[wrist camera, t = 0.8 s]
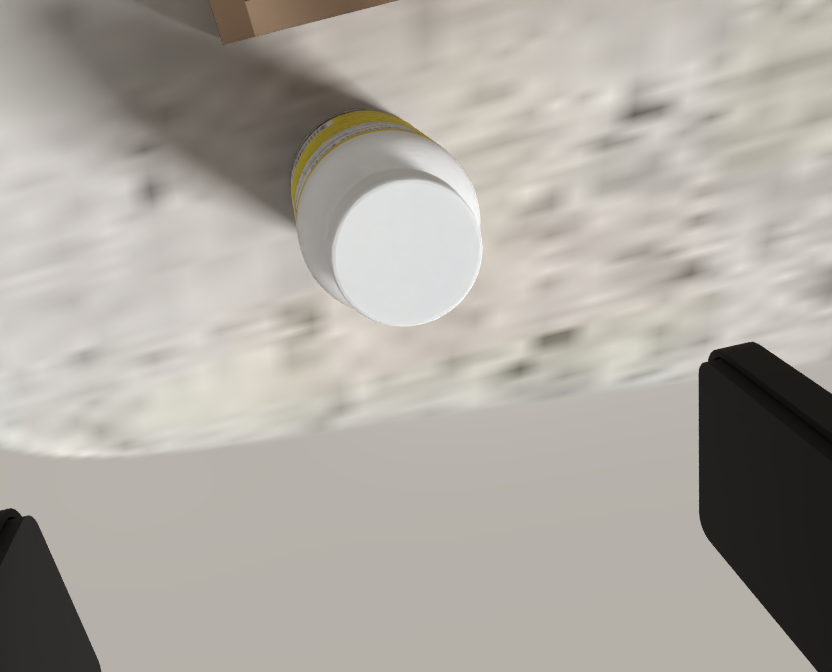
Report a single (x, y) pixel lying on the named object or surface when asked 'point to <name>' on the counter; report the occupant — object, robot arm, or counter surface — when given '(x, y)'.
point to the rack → (277, 14)
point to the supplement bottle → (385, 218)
